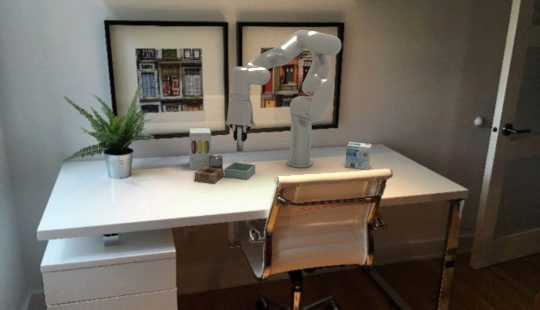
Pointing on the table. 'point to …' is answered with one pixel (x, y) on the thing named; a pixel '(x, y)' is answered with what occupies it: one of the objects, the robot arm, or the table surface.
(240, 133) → the pin
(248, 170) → the tray
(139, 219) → the table surface
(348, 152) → the light bulb box
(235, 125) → the robot arm
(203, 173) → the brown square open box
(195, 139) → the supplement box
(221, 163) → the grey cylinder
